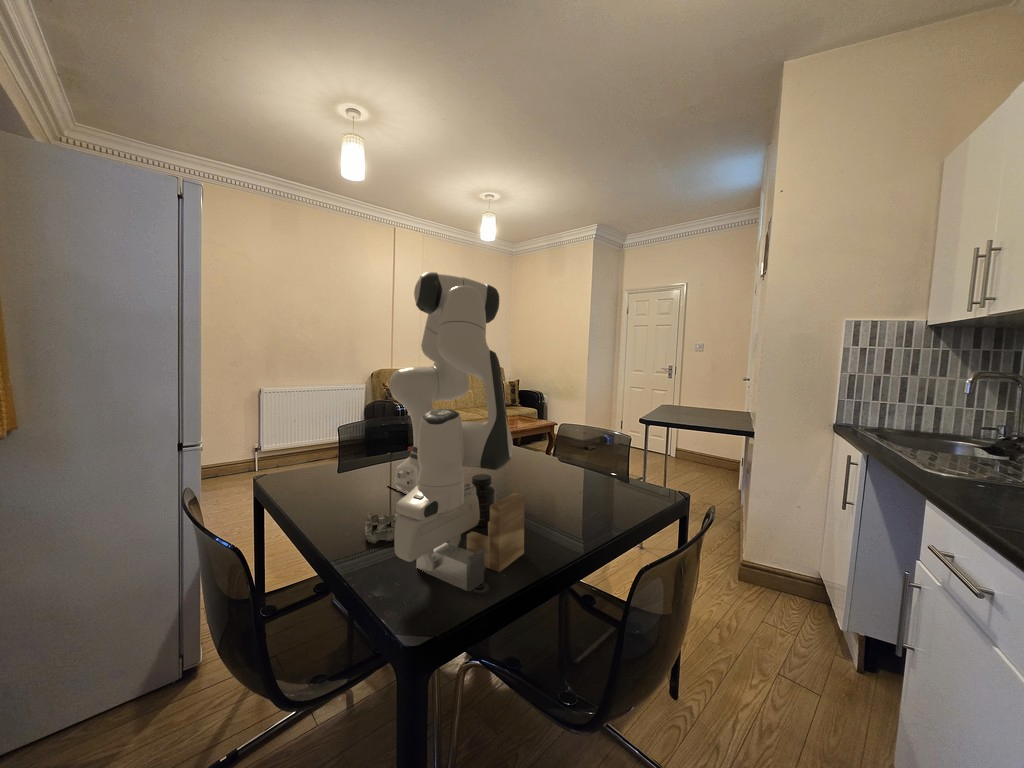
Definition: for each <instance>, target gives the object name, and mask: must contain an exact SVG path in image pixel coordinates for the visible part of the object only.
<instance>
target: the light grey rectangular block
mask: <svg viewBox="0 0 1024 768" xmlns="http://www.w3.org/2000/svg"><path fill="white" fill-rule="evenodd" d="M431 555H432V557H433V558H434V559H437V560H438V563H437V565H438V567H437V568H436V569H434V570H432V571H429V570H427V569H426V560H425V559H424V558H423V556H421V557H419V558H417V559H415V561H416V566H415V567H416V569H417V568H418V569H420V570H422V571H421V572H423V571H424V572H423V573H425V572H426V573H425V574H427V575H429V576H431V577H434V578H436V579H439V580H441V581H443V582H446V583H448V584H450V585H452V586H454V587H457V588H459V589H461V590H463V591H465V592H468V591H469V592H468V593H472V592H473V591H474V590H476V589H477V588H478V587H480V586H481V585H483V584H484V583H485V567H484V550H481V549H480V550H479V551H477V552H476V553H473V552H470V551H467V549H465V548H461V547H459V546H458V547H456V546H454V545H451V544H449V542H446V543H444V544H442V545H440V546H439V547H437V548H435V549H434V554H431ZM418 569H417V570H418ZM420 570H419V571H420ZM483 582H484V583H483ZM480 584H481V585H480ZM479 585H480V586H479ZM476 587H477V588H476ZM475 588H476V589H475ZM473 589H474V590H473ZM472 590H473V591H472ZM471 591H472V592H471Z"/></svg>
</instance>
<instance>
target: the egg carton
mask: <svg viewBox="0 0 1024 768" xmlns="http://www.w3.org/2000/svg"><path fill="white" fill-rule="evenodd" d="M399 516H400V514H399V513H395V514H392V513H390V514H389V515H386V514H383V517H379V514H378V513H371V511H368V513H367V517H366V522H365V525H364V526H365V527H364V533H365V536H366V540H367V539H370V540H372V541H376V540H377V539H379V538H386V539H387V540H390V539H392V538H394V537H395V525H396V521H397V519H398V517H399ZM390 521H391V524H390V525H391V528H388V527H387V525H388V524H386V523H387V522H390ZM374 522H375V523H376V522H377V523H378V525H377V528H376V530H374V533H373V531H372V530H373V527H372V523H374Z"/></svg>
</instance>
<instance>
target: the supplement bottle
mask: <svg viewBox="0 0 1024 768" xmlns="http://www.w3.org/2000/svg"><path fill="white" fill-rule="evenodd" d="M471 478H472V479H471V483H472V484H473V485H474V486H475V487H476V495H477V497H478V502H479V512H480V519H479V522H478V525H476V526H475V527H474V528H488V522H489V521H490V505H492V504H494V503H496V489H495V487H494V486H493V485H492V475H490V474H487V473H486V474H485V473H479V474H478V473H477V474H475V475H473V476H472V477H471Z"/></svg>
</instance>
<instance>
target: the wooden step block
mask: <svg viewBox="0 0 1024 768" xmlns="http://www.w3.org/2000/svg"><path fill="white" fill-rule="evenodd" d="M480 549H481V550H484V568H487V569H490V570H493V571H494V572H498V573H501V572H502V571H504V570H505V569H506V568H507V567H508V566H510V565H511V564H512V563H514V562H515V561H516V560H517V559H518V558H520V557H522V556H523V555H524V554H525V494H523V493H518V492H514V493H512V494H509V495H507V496H505V497H503V498H502V499H500V500H498V501H495V503H494V504H492V505H490V521H489V522H488V527H487V535H485V534H483V533H479V532H475V531H473V530H472V531H470V532H469V533H466V550H467V551H470V552H473V553H476V552H477V551H479V550H480Z"/></svg>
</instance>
